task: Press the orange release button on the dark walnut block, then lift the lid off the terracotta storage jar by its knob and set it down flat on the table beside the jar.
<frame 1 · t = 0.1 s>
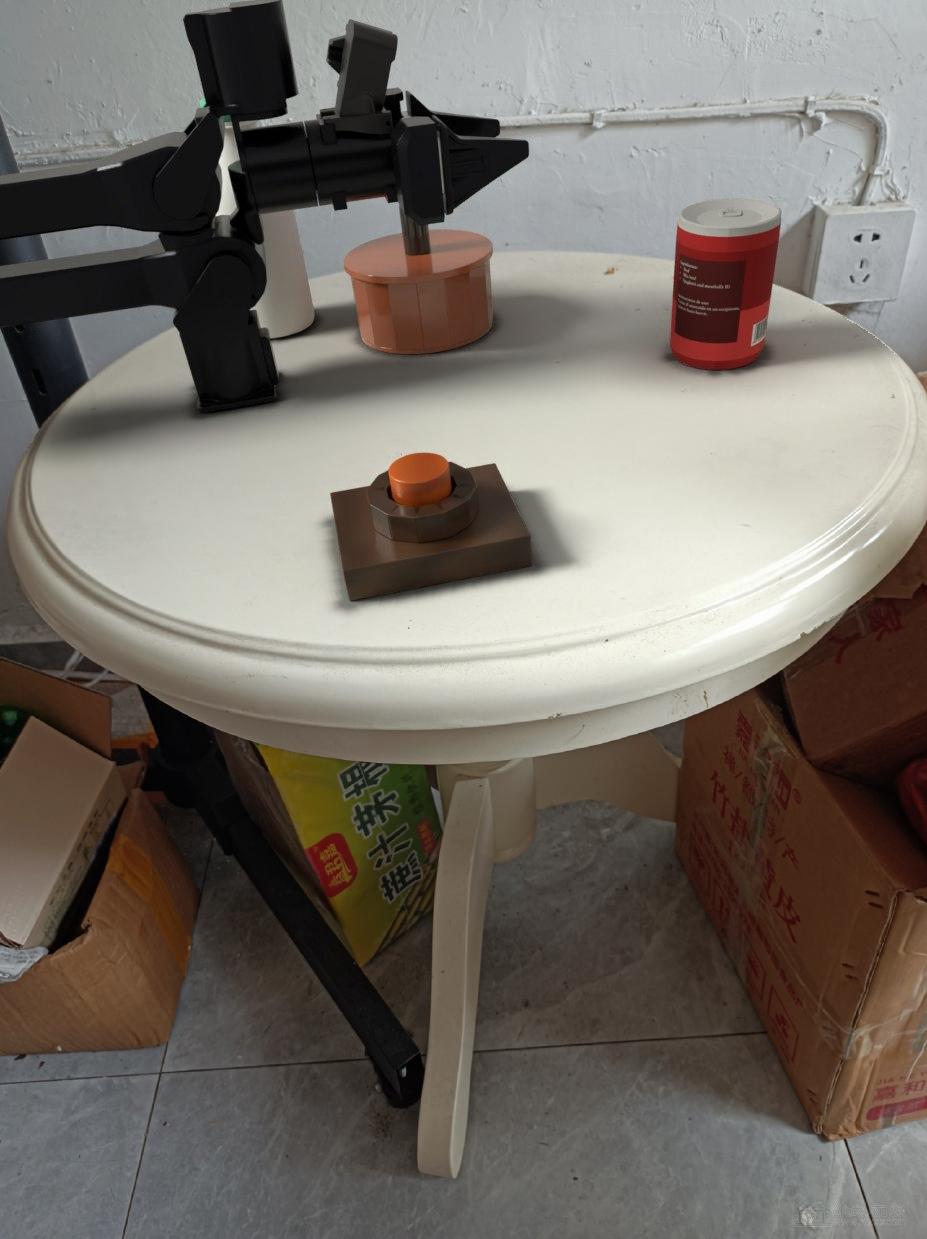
hand: (513, 137, 66), 17 cm above the table, tool horizontal, fingers open, 9 cm apart
button: (420, 479, 51), point 4 cm above the table, slide at 0.1 cm
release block: (428, 542, 54), on the table
jar lid: (418, 258, 78), point 6 cm above the table, touching jar
milk bottle: (278, 328, 86), on the table
canned food: (715, 354, 72), on the table
jar: (426, 327, 82), on the table
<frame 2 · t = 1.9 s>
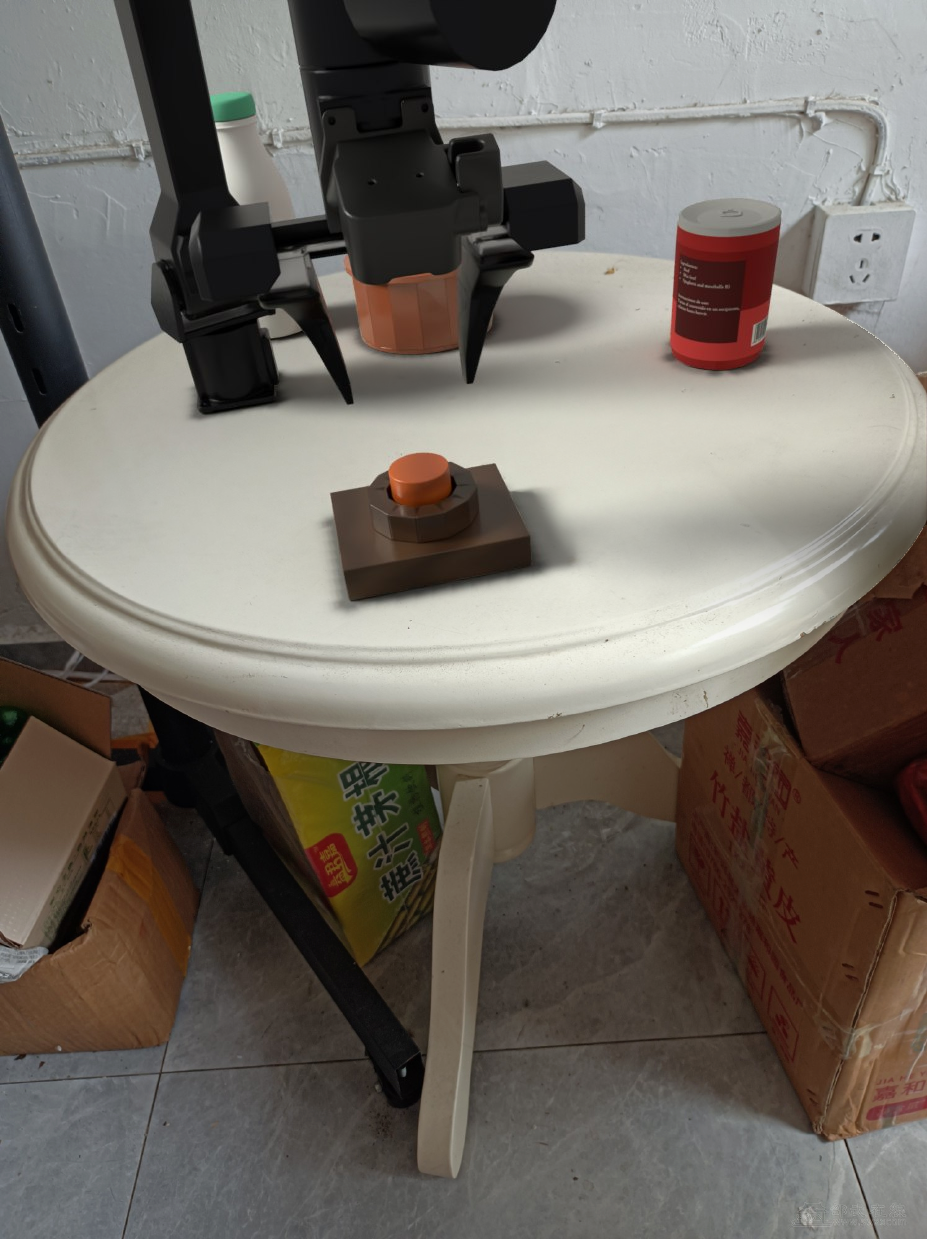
hand: (409, 391, 48), 10 cm above the table, tool pointing down, fingers open, 6 cm apart
nothing on the table moved.
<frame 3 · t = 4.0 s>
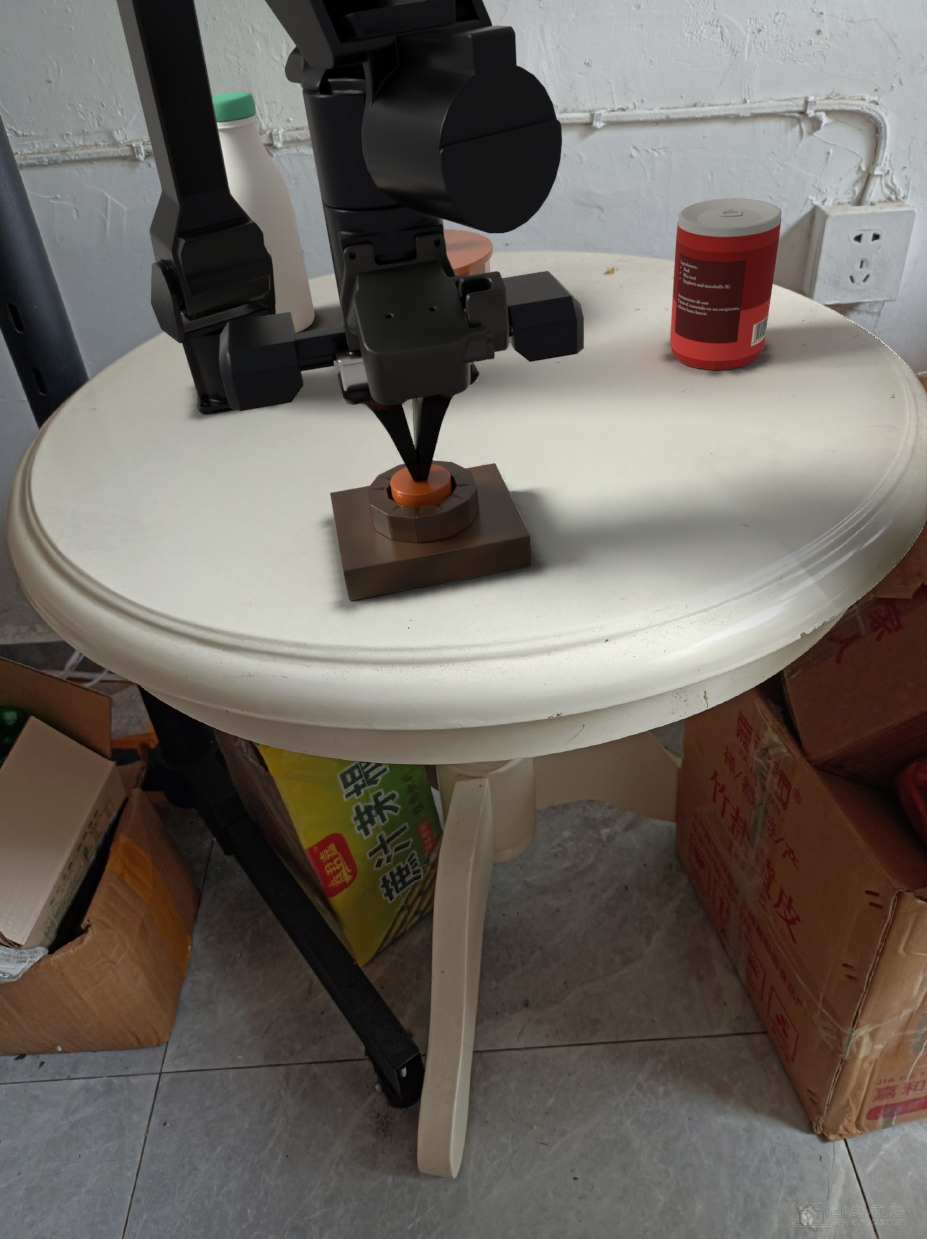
hand: (419, 478, 51), 5 cm above the table, tool pointing down, fingers closed, pressing on button
button: (421, 491, 52), point 4 cm above the table, slide at -0.7 cm, touching gripper
everything else where it was.
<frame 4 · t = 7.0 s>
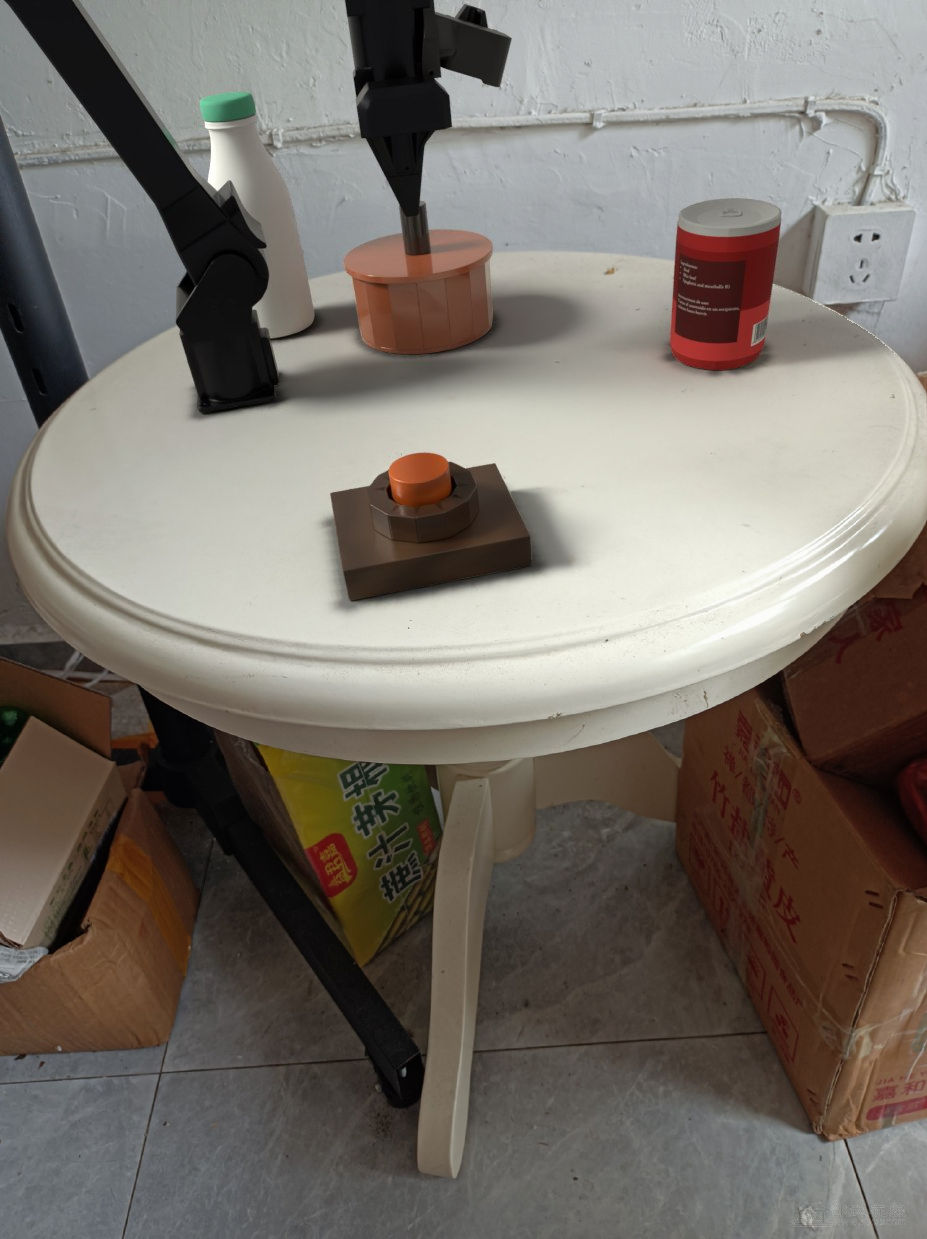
hand: (411, 215, 69), 12 cm above the table, tool pointing down, fingers closed
button: (420, 479, 51), point 4 cm above the table, slide at 0.1 cm
everything else where it was.
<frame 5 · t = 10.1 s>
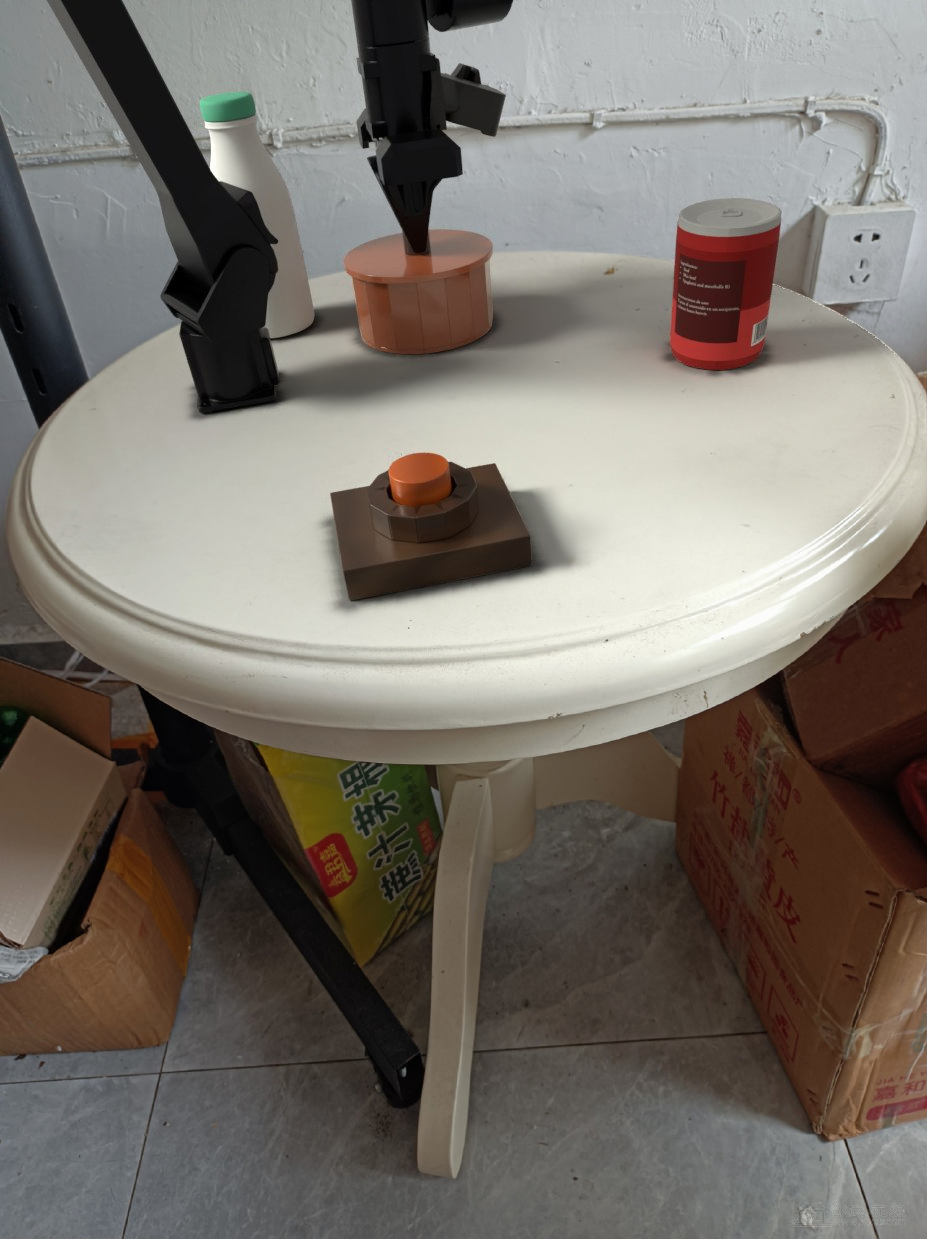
hand: (417, 247, 78), 7 cm above the table, tool pointing down, fingers closed on jar lid, 2 cm apart
jar lid: (418, 258, 78), point 6 cm above the table, touching gripper, jar
everything else where it was.
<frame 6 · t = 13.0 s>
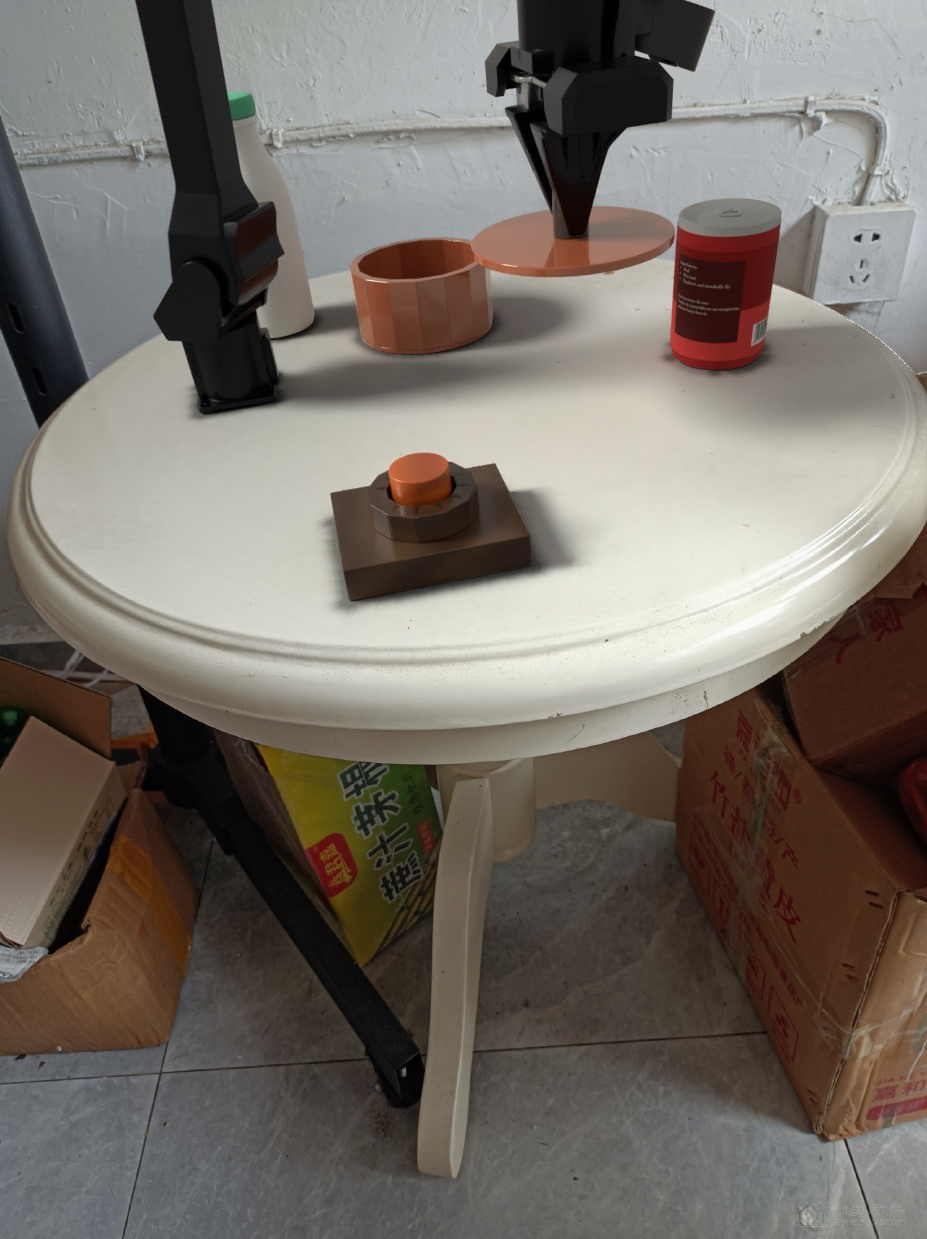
hand: (570, 229, 58), 13 cm above the table, tool pointing down, fingers closed on jar lid, 2 cm apart
jar lid: (571, 243, 58), point 12 cm above the table, touching gripper
everything else where it was.
when the fingers open (1 cm above the table, at t = 16.3 s): jar lid stays where it is, point 1 cm above the table.
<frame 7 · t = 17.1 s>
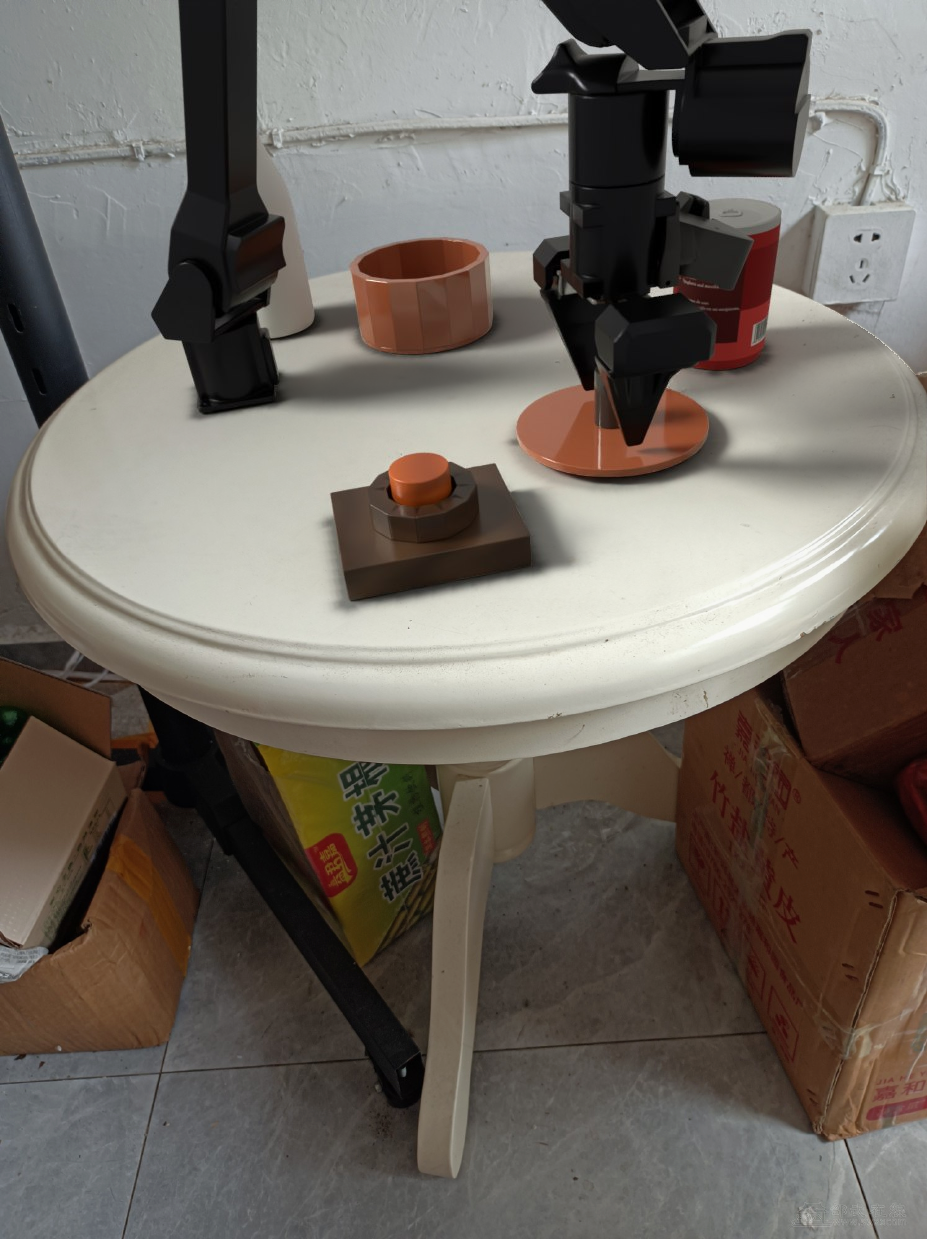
hand: (611, 415, 61), 2 cm above the table, tool pointing down, fingers open, 9 cm apart
jar lid: (610, 429, 62), point 1 cm above the table
everything else where it was.
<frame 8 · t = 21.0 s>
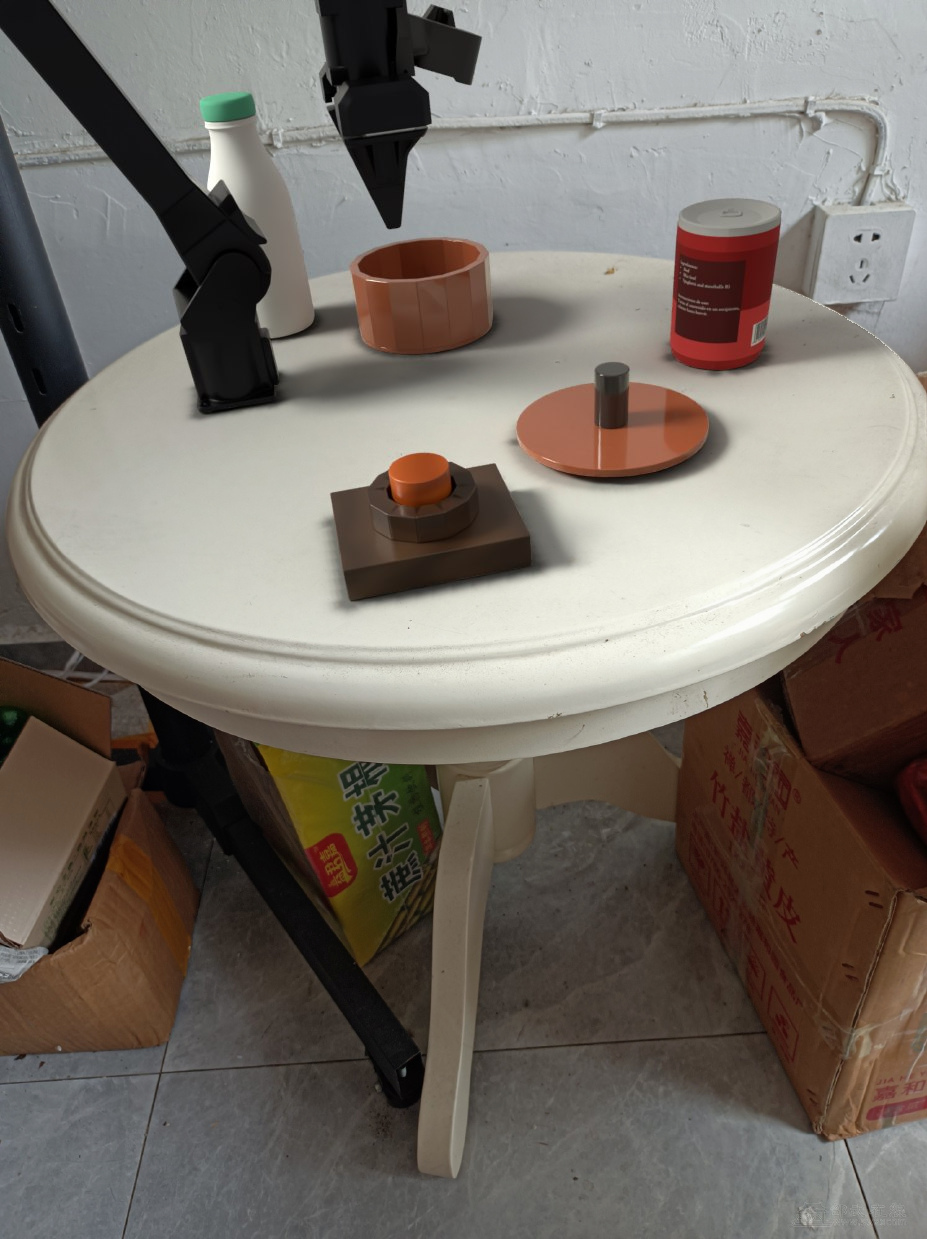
hand: (386, 213, 70), 12 cm above the table, tool pointing down, fingers open, 9 cm apart
nothing on the table moved.
at the end: button pushed in 1.1 cm at the most during the clip, back to where it started at the end; jar lid inside the target area (0.1 cm from its centre), point 0.6 cm above the table; jar lid tilted 0° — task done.
